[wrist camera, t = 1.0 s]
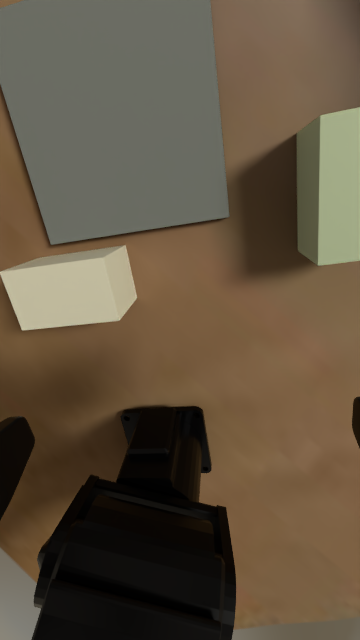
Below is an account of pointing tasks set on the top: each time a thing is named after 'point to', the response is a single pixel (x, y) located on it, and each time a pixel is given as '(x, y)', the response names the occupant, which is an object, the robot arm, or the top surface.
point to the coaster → (115, 112)
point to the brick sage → (329, 188)
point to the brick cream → (71, 288)
